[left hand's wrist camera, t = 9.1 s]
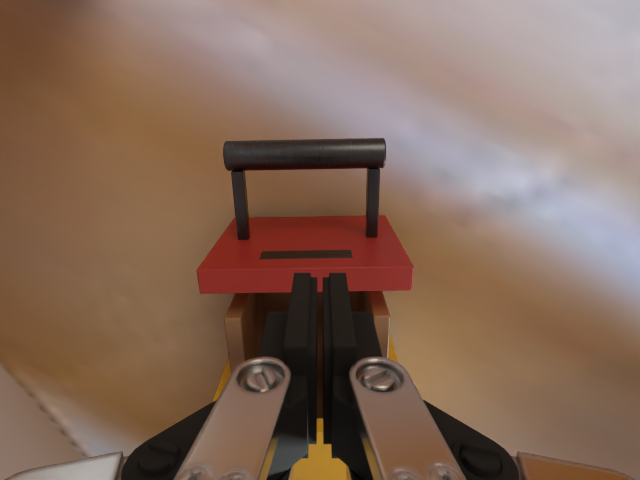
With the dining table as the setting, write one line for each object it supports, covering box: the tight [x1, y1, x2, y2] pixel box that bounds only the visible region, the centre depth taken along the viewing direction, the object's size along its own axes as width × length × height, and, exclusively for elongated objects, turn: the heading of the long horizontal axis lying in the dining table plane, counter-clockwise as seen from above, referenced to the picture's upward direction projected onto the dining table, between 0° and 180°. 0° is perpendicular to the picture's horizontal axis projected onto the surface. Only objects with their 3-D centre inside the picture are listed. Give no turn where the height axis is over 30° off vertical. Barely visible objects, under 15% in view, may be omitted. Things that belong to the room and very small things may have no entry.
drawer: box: [197, 138, 414, 418], centre depth 23 cm, size 24×10×8 cm, turn 1°
